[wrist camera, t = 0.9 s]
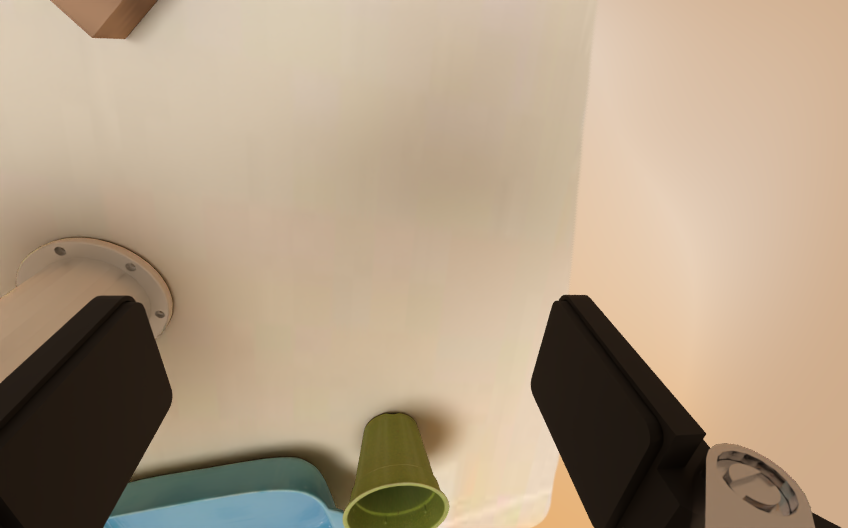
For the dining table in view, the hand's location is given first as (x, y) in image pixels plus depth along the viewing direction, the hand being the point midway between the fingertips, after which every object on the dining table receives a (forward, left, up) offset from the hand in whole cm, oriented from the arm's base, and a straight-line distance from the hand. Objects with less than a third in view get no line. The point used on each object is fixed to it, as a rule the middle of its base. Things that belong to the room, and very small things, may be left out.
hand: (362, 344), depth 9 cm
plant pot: (-24, -31, -29) cm, 49 cm away
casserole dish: (-50, -25, -29) cm, 63 cm away
